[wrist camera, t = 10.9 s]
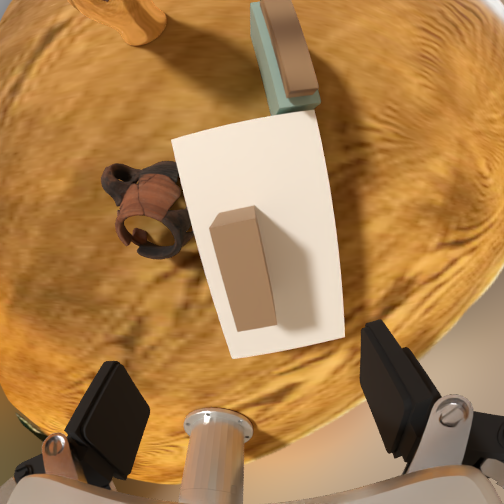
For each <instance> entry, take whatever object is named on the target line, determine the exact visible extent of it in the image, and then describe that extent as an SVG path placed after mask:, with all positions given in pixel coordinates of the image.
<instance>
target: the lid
mask: <svg viewBox="0 0 504 504" xmlns="http://www.w3.org/2000/svg"><path fill="white" fill-rule="evenodd" d="M171 141H172V146H173V150H174V155H175V159H176V163H177V168H178V172H179V176H180V180H181V185H182V189H183V193H184V197H185V201H186V205H187V209H188V213H189V216H190V220H191V224H192V228H193V232H194V235H195V239H196V243H197V246H198V250H199V253H200V257H201V261H202V264H203V267H204V271H205V274H206V278H207V281H208V285H209V288H210V291H211V295H212V298H213V301H214V304H215V308H216V311H217V314H218V317H219V320H220V323H221V327H222V330H223V333H224V336H225V339H226V342H227V345H228V348H229V351H230V354H231V357H232V359H236V358H243V357H249V356H255V355H262V354H267V353H273V352H278V351H284V350H289V349H294V348H299V347H304V346H308V345H313V344H317V343H322V342H326V341H330V340H334V339H338V338H342V337H345V327H344V309H343V294H342V281H341V270H340V260H339V251H338V242H337V234H336V226H335V218H334V211H333V205H332V198H331V192H330V186H329V180H328V174H327V168H326V163H325V157H324V152H323V147H322V142H321V138H320V133H319V128H318V124H317V119H316V115H315V111H314V110H308V111H300V112H293V113H287V114H280V115H274V116H268V117H263V118H258V119H252V120H247V121H243V122H238V123H233V124H229V125H225V126H220V127H216V128H212V129H208V130H204V131H201V132H197V133H193V134H190V135H186V136H182V137H179V138H176V139H172V140H171Z"/></svg>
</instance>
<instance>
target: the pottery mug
mask: <svg viewBox="0 0 504 504" xmlns="http://www.w3.org/2000/svg"><path fill="white" fill-rule="evenodd" d="M178 176H179V172H178V168H177V163H176V162H173V161H162V162H158V163H156V164H154V165H152V166H150V167H147V168H145V169H142V170H140V169H134V168H131V167H129V166H127V165H124V164H118V163H117V164H112V165H110V166H109V167H106V168H105V170H104V172H103V175H102V177H101V183H102V187H103V189H104V190H105V191H106V192H107V193H108V194H109V195H110V196H111V197H112V198H113V199H114V201H115V203H116V206H120V210H118V211H117V215H118V217H117V219H116V223H115V227H116V233H117V234H118V237H119V238H120V240H121V241H122V242H123V243H124V244H125V245H126V246H128V245H129V244H130V242H131V241H132V242H133V243H134V244H136V245H138V246H140V247H139V248H138V249H137V252H138V254H139V255H141V256H144V257H147V258H151V259H165V258H170V257H173V256H174V255H176V254H178V253H179V251H180V249H181V247H182V246H184V245H185V244H186V243H187V242H188V241H189V240H190V239H191V238H192V237H193V236H194V232H193V231H191V232H186V231H187V230H188V229H189V227H190V226H191V220H190V216H189V213H188V209H187V207H186V208H185V209H181V210H169V209H170V208H171V206H172V205H173V204H174V202H175V201H176V200H177V199H178V198H179V197H180V192H181V191H180V188H179V187H178V185H176V183H177V178H178ZM179 177H180V176H179ZM118 179H120V180H122V181H120V180H118ZM138 180H139V181H138ZM137 181H138V184H136V183H137ZM136 215H145V216H148V217H151V218H154V219H156V220H158V221H161V222H162V223H163V224H164V225H165V226H167V227H168V228H169V229H170V231H171V232H172V234H173V236H174V239H175V244H174V245H172V246H158V245H155V244H153V243H151V242H149V241H147V233H146V232H145V231H144V230H142V229H138V228H135V229H134V230H133V234H132V235H131V234H130V233H129V232H128V231H127V229H126V227H125V226H124V220H125V219H127V218H128V217H131V216H136Z"/></svg>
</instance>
